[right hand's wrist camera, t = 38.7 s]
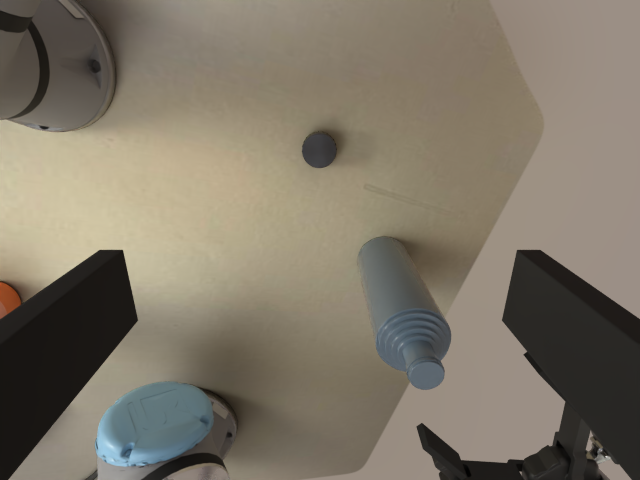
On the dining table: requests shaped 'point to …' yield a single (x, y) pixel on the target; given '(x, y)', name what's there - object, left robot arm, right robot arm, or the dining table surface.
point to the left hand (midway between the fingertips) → (475, 400)
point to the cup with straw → (8, 299)
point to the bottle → (403, 313)
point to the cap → (319, 149)
